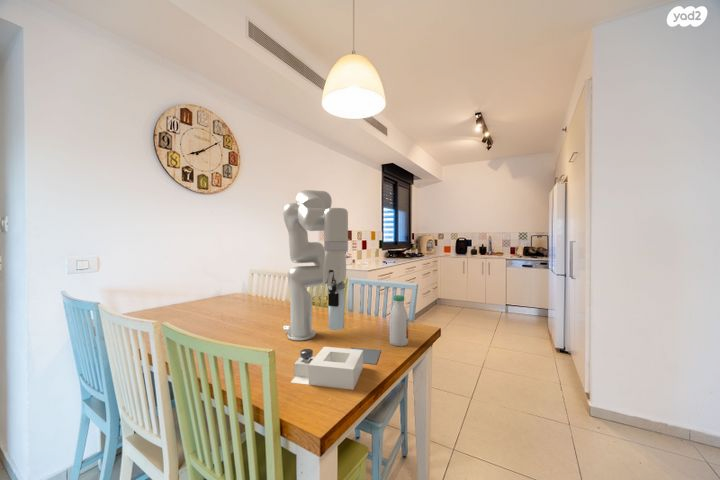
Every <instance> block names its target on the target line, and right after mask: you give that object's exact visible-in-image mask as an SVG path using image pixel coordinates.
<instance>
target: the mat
mask: <svg viewBox="0 0 720 480" xmlns="http://www.w3.org/2000/svg"><path fill="white" fill-rule="evenodd" d="M349 349H357V350H363V365H364V364H366V365H374V366H375V365H377V363H378V360H379V357H380V354H381V353H382V349H377V348H375V349H373V348H365V347H364V348H362V347H361V348H360V347H350V348H349Z"/></svg>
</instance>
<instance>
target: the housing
mask: <svg viewBox="0 0 720 480" xmlns="http://www.w3.org/2000/svg"><path fill="white" fill-rule="evenodd" d="M293 366H294V367H293V371H294V373H293V374H294V377H293V378H292V379H291V381H290V382H289V383H291V384H292V383H293V384H299V385H310V386H318V387H326V388H335V389H345V390H352V391H353V390H354V389H355V388H356V387H355V386H356V385H357V383H358V381H359V378H360V375H361V374H362V371H363V369H364V363H363V350H357V349H350V348H344V347H343V348H342V347H333V346H332V347H331V346H322V348H321V349H320V351H319V352H318V353H317V354H315V356H312V357H311V358H310V362H309V363H307V362H304V358H301V357H299V358H298V359H297V360H296V361H295V362H294V364H293Z"/></svg>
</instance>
